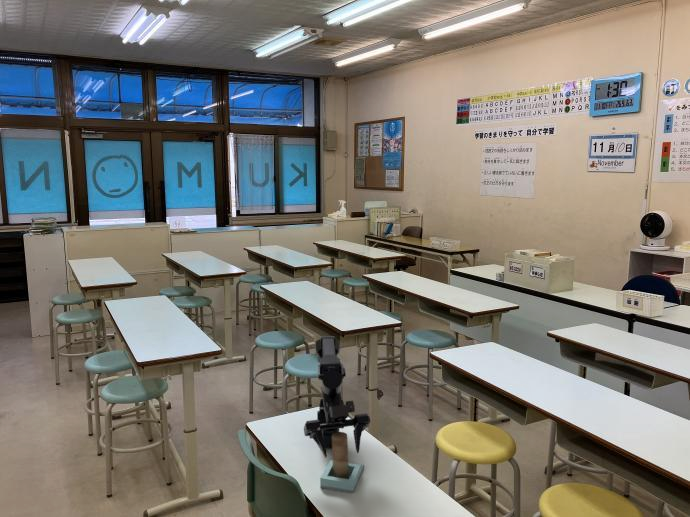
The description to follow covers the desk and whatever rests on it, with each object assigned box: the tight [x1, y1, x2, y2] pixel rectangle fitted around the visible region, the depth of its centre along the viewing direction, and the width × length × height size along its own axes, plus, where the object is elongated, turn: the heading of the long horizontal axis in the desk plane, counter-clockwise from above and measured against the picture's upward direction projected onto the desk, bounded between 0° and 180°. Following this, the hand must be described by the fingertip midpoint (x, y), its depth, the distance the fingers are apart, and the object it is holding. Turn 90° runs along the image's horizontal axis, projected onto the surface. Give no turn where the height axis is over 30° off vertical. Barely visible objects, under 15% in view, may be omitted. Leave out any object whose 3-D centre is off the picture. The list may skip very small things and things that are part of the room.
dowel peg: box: [331, 431, 349, 479], centre depth 152 cm, size 4×4×13 cm
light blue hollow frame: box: [319, 459, 365, 494], centre depth 155 cm, size 13×9×3 cm
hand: (342, 455), depth 151 cm, fingers open, 9 cm apart
